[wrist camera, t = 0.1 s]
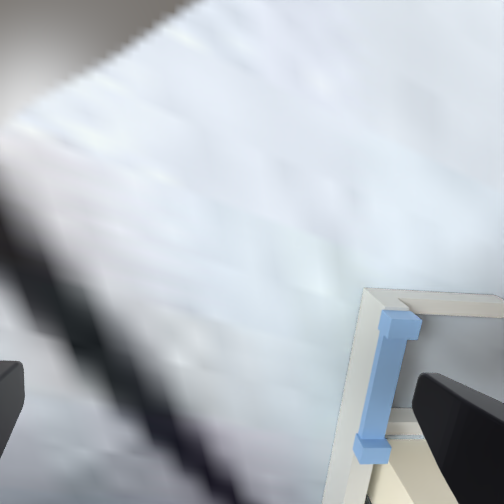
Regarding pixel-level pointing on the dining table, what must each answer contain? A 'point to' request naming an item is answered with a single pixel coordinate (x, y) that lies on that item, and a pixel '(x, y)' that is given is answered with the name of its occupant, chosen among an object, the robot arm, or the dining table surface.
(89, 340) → the dining table surface
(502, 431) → the robot arm
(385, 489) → the cream rectangular block
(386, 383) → the white post rack
